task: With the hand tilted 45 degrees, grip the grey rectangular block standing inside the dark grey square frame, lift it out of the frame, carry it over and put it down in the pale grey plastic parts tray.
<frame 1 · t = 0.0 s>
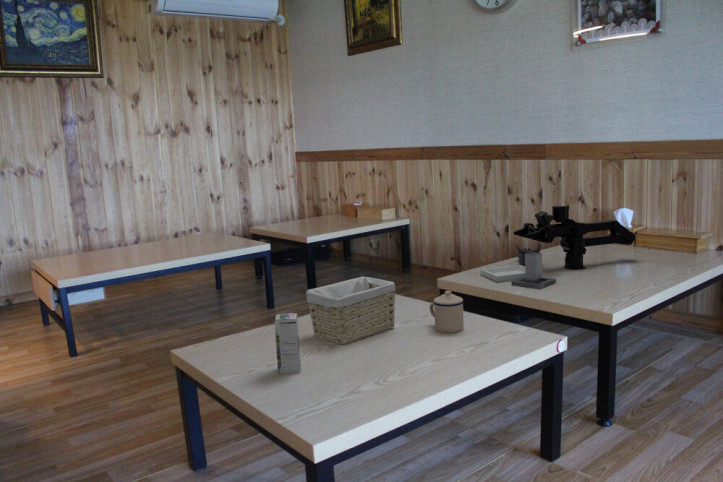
hand: (519, 234, 245), 17 cm above the table, tool horizontal, fingers open, 9 cm apart
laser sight: (527, 266, 264), on the table
dark grey square frame: (533, 283, 231), on the table
grey rectangular block: (533, 284, 231), resting in dark grey square frame
parts tray: (508, 276, 246), on the table
storage basket: (353, 333, 185), on the table
teacup with lid: (445, 328, 184), on the table
syrup box: (290, 370, 157), on the table
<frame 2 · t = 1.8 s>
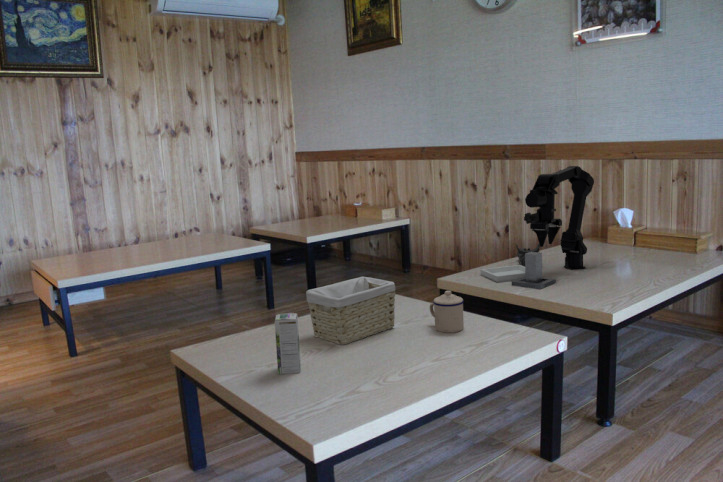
hand: (546, 245, 240), 13 cm above the table, tool pointing down, fingers open, 9 cm apart
nothing on the table moved.
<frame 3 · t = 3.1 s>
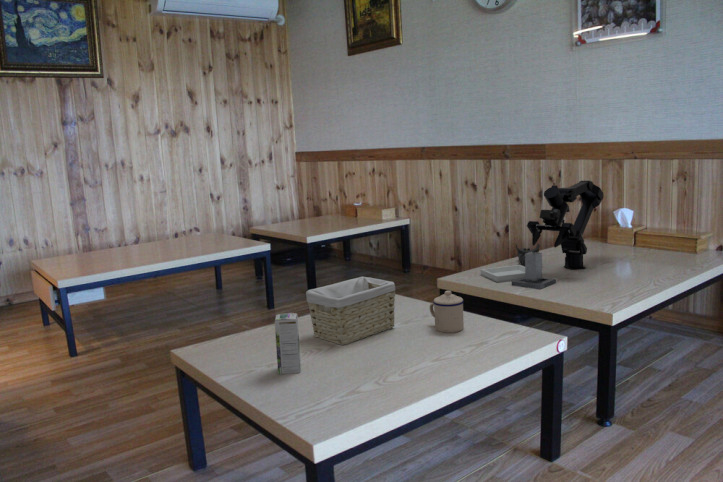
hand: (543, 245, 234), 13 cm above the table, tool tilted 45°, fingers open, 9 cm apart
nothing on the table moved.
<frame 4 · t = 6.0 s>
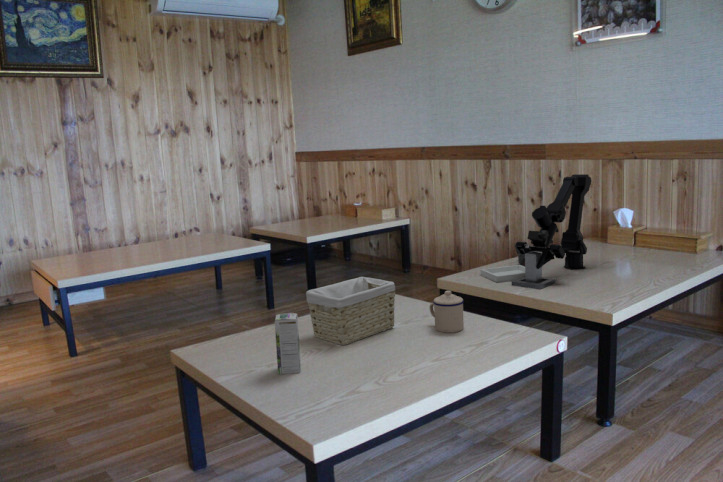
hand: (531, 267, 229), 7 cm above the table, tool tilted 45°, fingers closed on grey rectangular block, 4 cm apart
grey rectangular block: (533, 284, 231), resting in dark grey square frame, touching gripper
everything else where it was.
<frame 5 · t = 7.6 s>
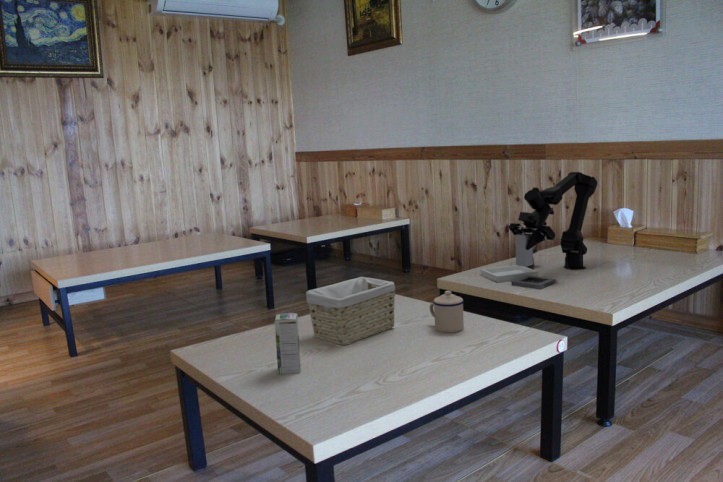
hand: (521, 248, 232), 13 cm above the table, tool tilted 45°, fingers closed on grey rectangular block, 4 cm apart
grey rectangular block: (524, 264, 234), point 7 cm above the table, touching gripper
when the fingers open (9 cm above the table, at t = 9.5 s): grey rectangular block drops 2 cm, resting on parts tray.
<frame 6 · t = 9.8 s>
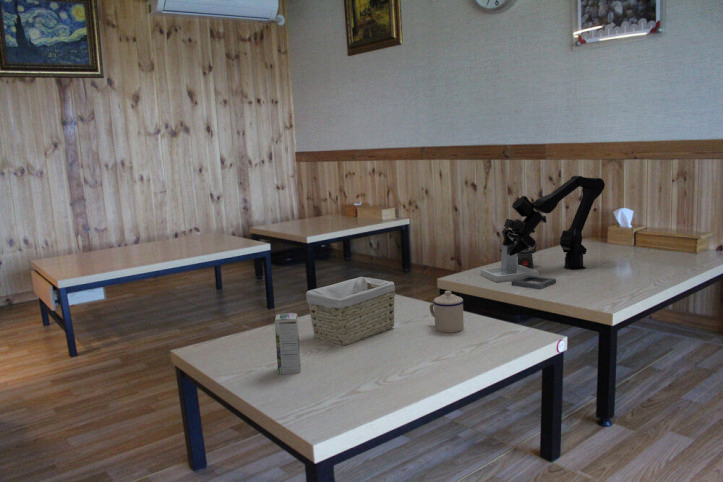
hand: (505, 253, 244), 10 cm above the table, tool tilted 45°, fingers open, 7 cm apart
grey rectangular block: (508, 274, 246), point 1 cm above the table, touching parts tray
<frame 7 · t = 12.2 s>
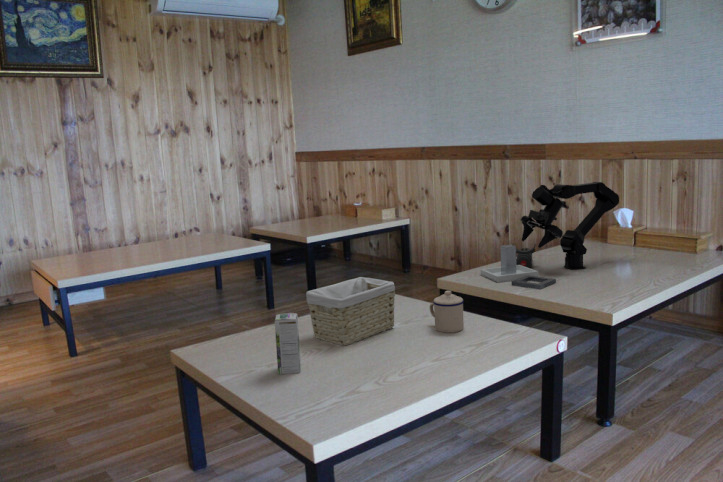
hand: (530, 244, 245), 12 cm above the table, tool tilted 35°, fingers open, 9 cm apart
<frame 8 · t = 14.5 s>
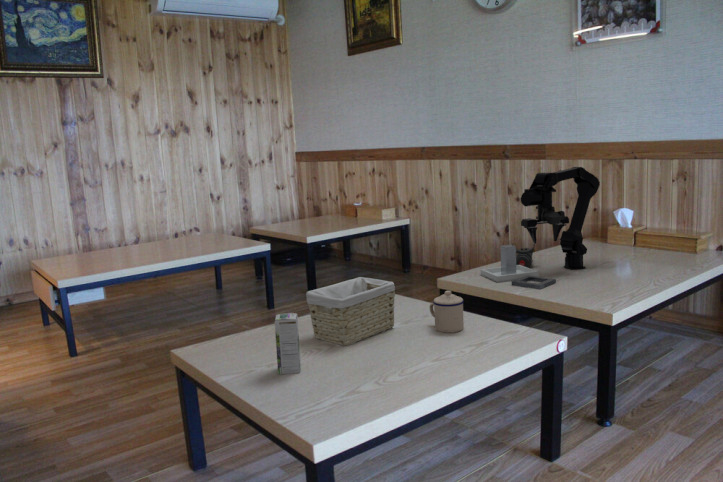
hand: (545, 242, 244), 13 cm above the table, tool pointing down, fingers open, 9 cm apart
at the end: grey rectangular block inside the target area on the parts tray (0.0 cm from its centre), point 0.6 cm above the parts tray's base; the gripper is holding nothing; grey rectangular block moved 16.2 cm from its start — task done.
